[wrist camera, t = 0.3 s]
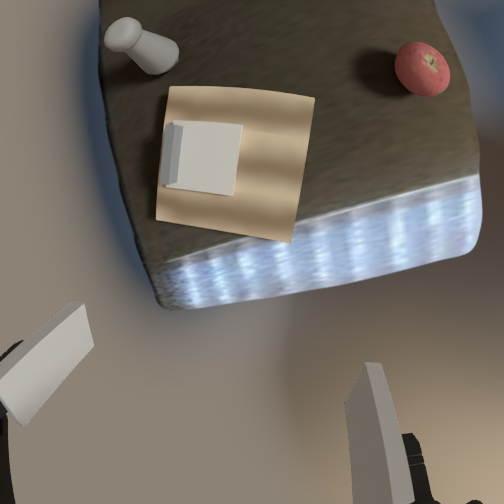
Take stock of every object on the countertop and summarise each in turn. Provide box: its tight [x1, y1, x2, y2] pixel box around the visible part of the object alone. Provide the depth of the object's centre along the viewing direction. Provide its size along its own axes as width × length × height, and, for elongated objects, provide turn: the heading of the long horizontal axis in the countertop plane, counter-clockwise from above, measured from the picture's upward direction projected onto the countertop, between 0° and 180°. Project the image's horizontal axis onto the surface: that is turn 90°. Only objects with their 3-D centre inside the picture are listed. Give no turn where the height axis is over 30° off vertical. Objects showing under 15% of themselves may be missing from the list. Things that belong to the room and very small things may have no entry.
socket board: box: [156, 86, 315, 243], centre depth 33 cm, size 18×18×3 cm
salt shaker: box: [104, 17, 179, 75], centre depth 24 cm, size 6×6×13 cm
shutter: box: [159, 120, 243, 196], centre depth 30 cm, size 8×8×4 cm
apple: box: [395, 42, 450, 97], centre depth 22 cm, size 7×7×8 cm
